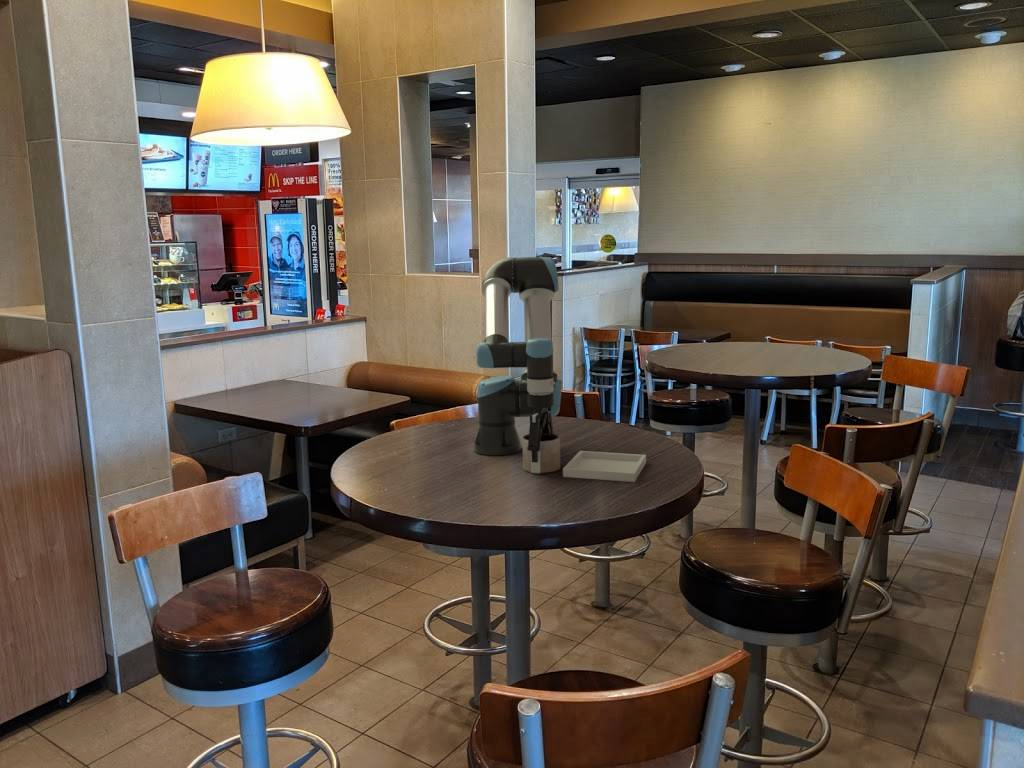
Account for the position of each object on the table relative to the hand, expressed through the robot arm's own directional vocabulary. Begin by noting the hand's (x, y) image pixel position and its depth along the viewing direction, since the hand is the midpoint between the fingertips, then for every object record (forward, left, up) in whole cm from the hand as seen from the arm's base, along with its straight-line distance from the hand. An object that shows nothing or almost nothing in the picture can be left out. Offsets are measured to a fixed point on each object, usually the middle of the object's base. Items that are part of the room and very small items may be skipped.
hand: (541, 467), depth 227 cm
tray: (+18, +4, -1) cm, 18 cm away
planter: (0, 0, -1) cm, 1 cm away
